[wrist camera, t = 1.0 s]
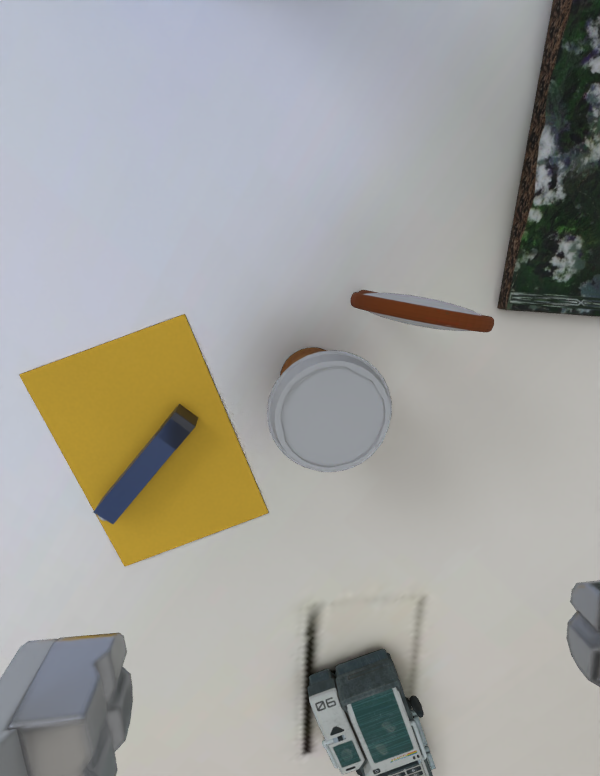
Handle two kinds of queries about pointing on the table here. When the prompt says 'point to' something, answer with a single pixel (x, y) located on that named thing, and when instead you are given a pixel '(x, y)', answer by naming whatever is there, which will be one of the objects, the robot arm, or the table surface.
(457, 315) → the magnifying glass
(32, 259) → the table surface
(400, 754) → the communication device
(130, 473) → the tall navy blue post
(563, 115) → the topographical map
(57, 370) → the cloth
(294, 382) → the disposable coffee cup
